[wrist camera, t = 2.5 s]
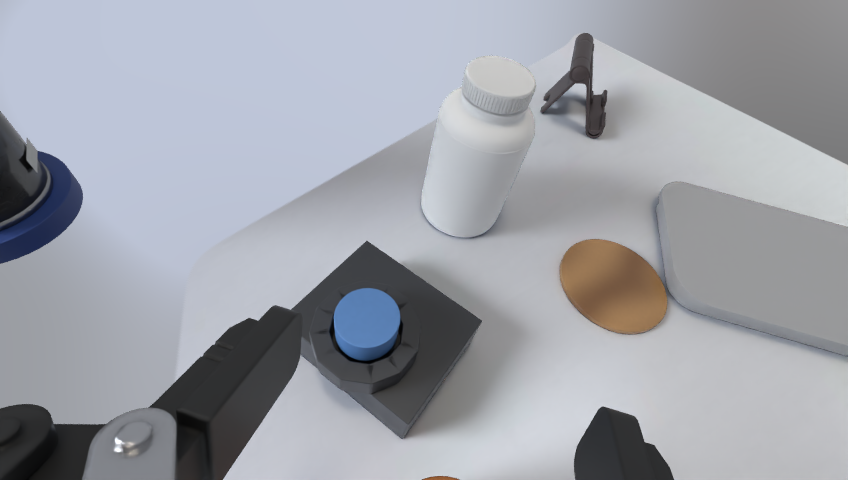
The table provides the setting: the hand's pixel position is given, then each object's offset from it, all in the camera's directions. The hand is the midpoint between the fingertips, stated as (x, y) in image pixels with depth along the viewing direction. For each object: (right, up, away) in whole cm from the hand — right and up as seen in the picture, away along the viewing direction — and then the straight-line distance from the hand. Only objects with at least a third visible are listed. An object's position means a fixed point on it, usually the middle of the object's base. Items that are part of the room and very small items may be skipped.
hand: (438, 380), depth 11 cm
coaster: (+17, -1, +28) cm, 33 cm away
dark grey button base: (-4, -4, +21) cm, 22 cm away
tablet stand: (+19, +21, +44) cm, 53 cm away
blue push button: (-4, -2, +16) cm, 16 cm away
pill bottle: (+3, +7, +31) cm, 32 cm away
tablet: (+36, 0, +31) cm, 48 cm away
